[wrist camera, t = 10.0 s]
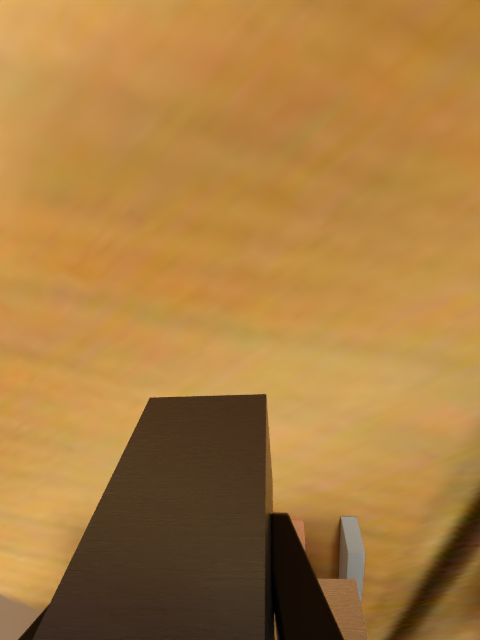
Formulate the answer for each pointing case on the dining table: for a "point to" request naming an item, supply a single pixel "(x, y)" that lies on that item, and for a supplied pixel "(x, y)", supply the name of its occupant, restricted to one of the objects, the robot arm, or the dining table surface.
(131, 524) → the grey angular piece
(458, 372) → the dining table surface
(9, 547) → the dining table surface
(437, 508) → the dining table surface
